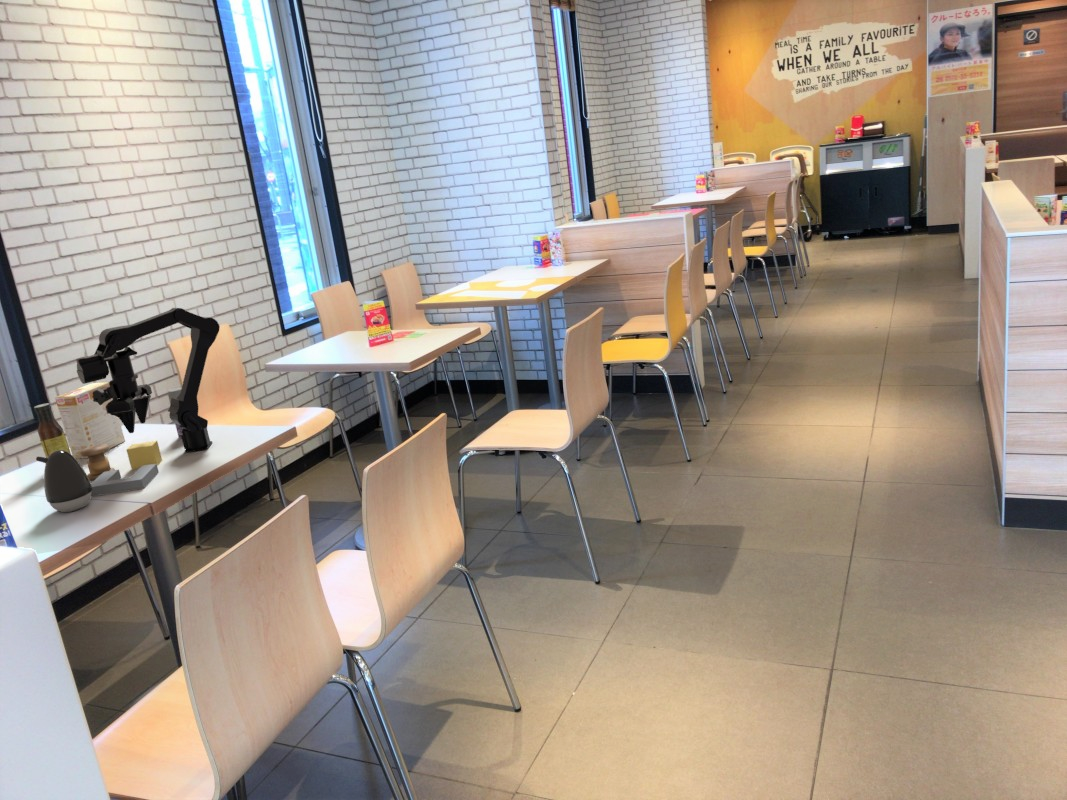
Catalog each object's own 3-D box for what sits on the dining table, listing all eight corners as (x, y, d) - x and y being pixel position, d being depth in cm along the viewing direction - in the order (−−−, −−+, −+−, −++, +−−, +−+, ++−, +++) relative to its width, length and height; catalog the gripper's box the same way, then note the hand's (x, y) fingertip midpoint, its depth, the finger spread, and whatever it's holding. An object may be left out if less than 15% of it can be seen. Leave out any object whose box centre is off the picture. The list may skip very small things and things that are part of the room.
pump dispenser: (61, 503, 214) (44, 447, 210) (103, 497, 215) (87, 441, 211) (42, 519, 205) (24, 460, 200) (85, 513, 205) (68, 454, 201)
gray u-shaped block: (158, 472, 229) (156, 463, 228) (144, 488, 217) (141, 479, 217) (106, 480, 228) (103, 471, 227) (88, 496, 216) (86, 487, 216)
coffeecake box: (108, 441, 266) (91, 382, 261) (126, 441, 264) (110, 381, 259) (71, 459, 253) (53, 396, 247) (90, 458, 251) (72, 395, 245)
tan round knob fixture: (119, 469, 236) (111, 442, 234) (110, 478, 229) (102, 450, 227) (93, 473, 236) (86, 446, 233) (83, 482, 229) (75, 454, 227)
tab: (162, 460, 240) (157, 440, 238) (157, 465, 235) (152, 445, 234) (137, 464, 239) (131, 444, 237) (131, 469, 235) (126, 449, 233)
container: (197, 434, 261) (185, 388, 257) (182, 439, 258) (170, 392, 254) (190, 432, 265) (178, 386, 261) (176, 437, 261) (164, 390, 257)
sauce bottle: (80, 466, 244) (61, 401, 238) (62, 474, 238) (42, 408, 233) (63, 466, 246) (43, 401, 240) (45, 474, 240) (25, 408, 235)
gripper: (105, 370, 238) (120, 422, 243) (78, 387, 220) (94, 443, 225) (145, 364, 239) (159, 416, 243) (121, 380, 221) (137, 436, 226)
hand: (137, 427), depth 234 cm, fingers open, 9 cm apart
